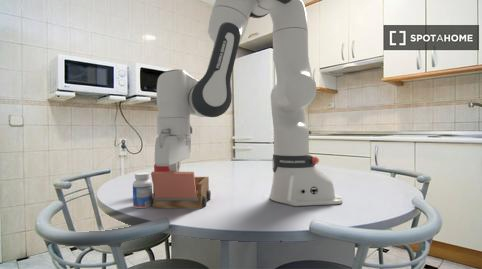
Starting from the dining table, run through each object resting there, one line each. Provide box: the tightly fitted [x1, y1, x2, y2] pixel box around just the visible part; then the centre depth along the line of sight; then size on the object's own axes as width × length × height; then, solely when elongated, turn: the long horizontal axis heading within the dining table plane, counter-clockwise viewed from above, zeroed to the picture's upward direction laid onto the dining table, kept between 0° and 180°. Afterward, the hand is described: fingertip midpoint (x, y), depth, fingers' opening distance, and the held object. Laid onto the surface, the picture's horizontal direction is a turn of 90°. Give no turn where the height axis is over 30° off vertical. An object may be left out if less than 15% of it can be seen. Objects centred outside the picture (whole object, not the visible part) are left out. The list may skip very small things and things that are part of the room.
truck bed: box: [152, 176, 212, 209], centre depth 85 cm, size 16×12×7 cm
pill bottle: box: [132, 171, 153, 209], centre depth 82 cm, size 6×5×10 cm
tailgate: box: [150, 171, 198, 201], centre depth 77 cm, size 12×1×9 cm, turn 87°
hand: (174, 178), depth 77 cm, fingers closed
